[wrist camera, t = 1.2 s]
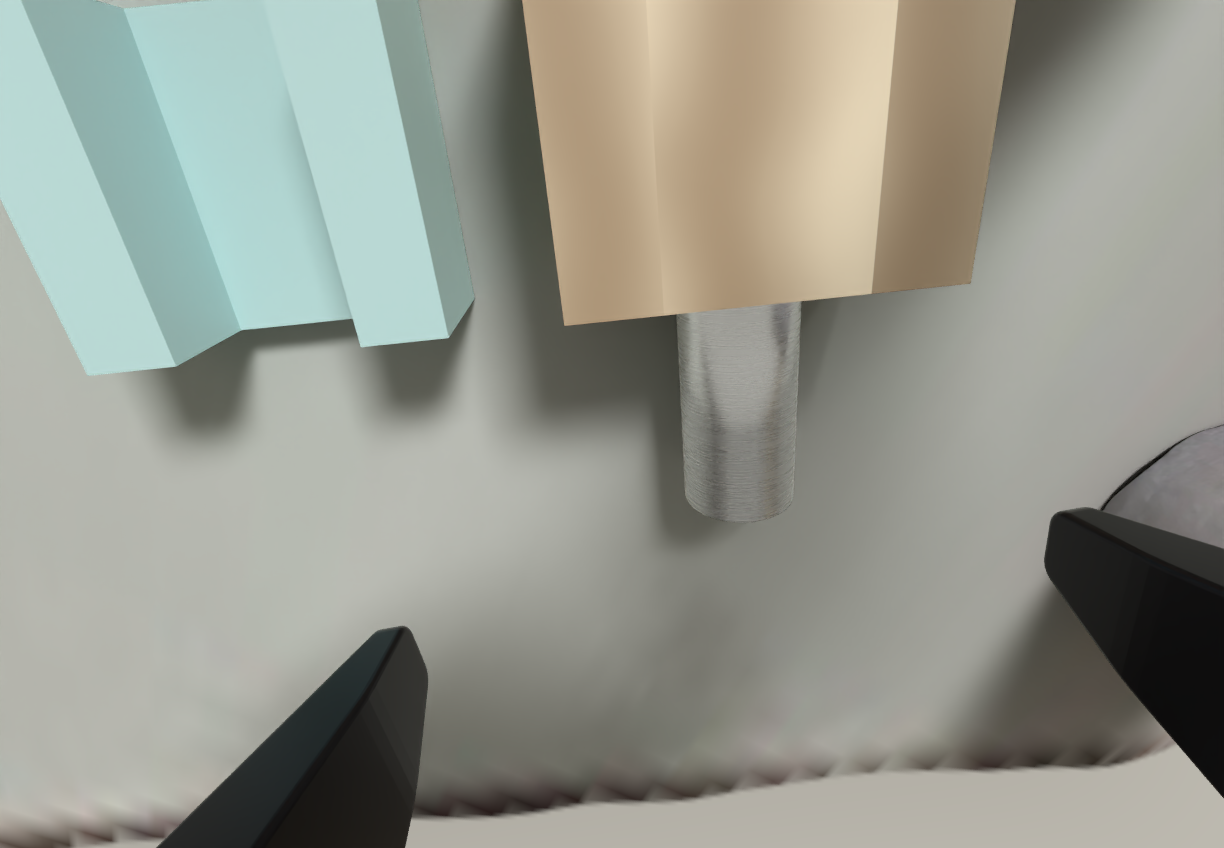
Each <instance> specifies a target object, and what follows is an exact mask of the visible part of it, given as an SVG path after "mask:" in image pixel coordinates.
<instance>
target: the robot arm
mask: <svg viewBox="0 0 1224 848" xmlns="http://www.w3.org/2000/svg"><path fill="white" fill-rule="evenodd" d="M1044 563H1045V569H1046V572H1047V574H1048V576H1049V578H1050V580H1051V581H1052V582H1053V584H1054V585H1055V587H1056V588H1057V589H1058V591H1059V592H1060V594H1061V595H1062V597H1063V598H1064V599H1065V601H1066V602H1067V604H1068V605H1069V606H1070V608H1071V609H1072V611H1073V612H1074V613H1075V615H1076V616H1077V618H1078V619H1079V621H1080V622H1081V623H1082V625H1083V626H1084V628H1085V629H1086V630H1087V632H1088V633H1089V635H1090V636H1091V637H1092V639H1093V640H1094V642H1095V643H1096V644H1097V646H1098V647H1099V649H1100V650H1101V652H1102V653H1103V654H1104V656H1105V657H1106V659H1107V660H1108V661H1109V663H1110V664H1111V665H1112V667H1113V668H1114V669H1115V671H1116V672H1117V673H1118V675H1119V676H1120V677H1121V679H1122V680H1123V681H1124V682H1125V683H1126V685H1127V686H1128V687H1129V688H1130V690H1131V691H1132V692H1133V693H1134V694H1135V696H1136V697H1137V698H1138V699H1139V700H1140V701H1141V703H1142V704H1143V705H1144V706H1145V707H1146V708H1147V710H1148V711H1149V712H1150V713H1151V714H1152V715H1153V717H1154V718H1155V719H1156V720H1157V721H1158V722H1159V724H1160V725H1161V726H1162V727H1163V728H1164V729H1165V731H1166V732H1167V733H1168V734H1169V735H1170V736H1171V738H1172V739H1173V740H1174V741H1175V742H1176V743H1177V745H1178V746H1179V747H1180V748H1181V749H1182V750H1183V752H1184V753H1185V754H1186V755H1187V756H1188V757H1189V758H1190V760H1191V761H1192V762H1193V763H1194V764H1195V766H1196V767H1197V768H1198V769H1199V770H1200V771H1201V773H1202V774H1203V775H1204V776H1205V777H1206V778H1207V780H1208V781H1209V782H1210V783H1211V784H1212V785H1213V787H1214V788H1215V789H1216V790H1217V791H1218V792H1219V793H1220V795H1221V796H1222V797H1223V798H1224V548H1221V547H1218V546H1214V545H1211V544H1208V543H1204V542H1201V541H1198V540H1195V539H1191V538H1188V537H1185V536H1182V535H1178V534H1175V533H1172V532H1169V531H1165V530H1162V529H1159V528H1156V527H1152V526H1149V525H1146V524H1143V523H1139V522H1136V521H1133V520H1130V519H1126V518H1123V517H1120V516H1117V515H1113V514H1110V513H1107V512H1104V511H1100V510H1097V509H1094V508H1088V507H1082V508H1076V509H1070V510H1065V511H1060V512H1057V513H1056V514H1054V516H1053V517H1052V518H1051V521H1050V526H1049V532H1048V538H1047V545H1046V551H1045V557H1044ZM427 690H428V673H427V668H426V665H425V663H424V660H423V658H422V656H421V653H420V651H419V648H418V646H417V644H416V641H415V639H414V636H413V634H412V632H411V631H410V629H409V628H408V627H405V626H398V627H392V628H387V629H382V630H378V631H377V632H375V633H374V634H373V635H372V636H371V637H370V638H369V639H368V640H367V641H366V642H365V643H364V644H363V645H362V646H361V647H360V648H359V649H358V650H357V651H356V652H355V653H354V654H352V655H351V656H350V657H349V658H348V659H347V660H346V661H345V662H344V663H343V664H342V665H341V666H340V667H339V668H338V669H337V670H336V671H335V672H334V673H333V674H332V675H331V676H330V677H329V678H328V679H327V680H326V681H325V682H324V683H323V684H322V685H321V686H320V687H319V688H318V689H317V690H316V691H315V692H314V693H313V694H312V695H311V696H310V697H309V698H308V699H307V700H306V701H305V702H304V703H303V704H302V705H301V706H300V707H299V708H298V709H297V710H296V711H295V712H294V713H293V714H292V715H291V716H290V717H289V718H288V719H286V720H285V721H284V722H283V723H282V724H281V725H280V726H279V727H278V728H277V729H276V730H275V731H274V732H273V733H272V734H271V735H270V736H269V737H268V738H267V739H266V740H265V741H264V742H263V743H262V744H261V745H260V746H259V747H258V748H257V749H256V750H255V751H254V752H253V753H252V754H251V755H250V756H249V757H248V758H247V759H246V760H245V761H244V762H243V763H242V764H241V765H240V766H239V767H238V768H237V769H236V770H235V771H234V772H233V773H232V774H231V775H230V776H229V777H228V778H227V779H226V780H225V781H224V782H223V783H222V784H220V785H219V786H218V787H217V788H216V789H215V790H214V791H213V792H212V793H211V794H210V795H209V796H208V797H207V798H206V799H205V800H204V801H203V802H202V803H201V804H200V805H199V806H198V807H197V808H196V809H195V810H194V811H193V812H192V813H191V814H190V815H189V816H188V817H187V818H186V819H185V820H184V821H183V822H182V823H181V824H180V825H179V826H178V827H177V828H176V829H175V830H174V831H173V832H172V833H171V834H170V835H169V836H168V837H167V838H166V839H165V840H164V841H163V842H162V843H161V844H159V845H158V847H156V848H405V845H406V841H407V836H408V831H409V827H410V821H411V817H412V812H413V807H414V802H415V796H416V789H417V782H418V774H419V764H420V755H421V746H422V736H423V727H424V718H425V708H426V699H427Z"/></svg>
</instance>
